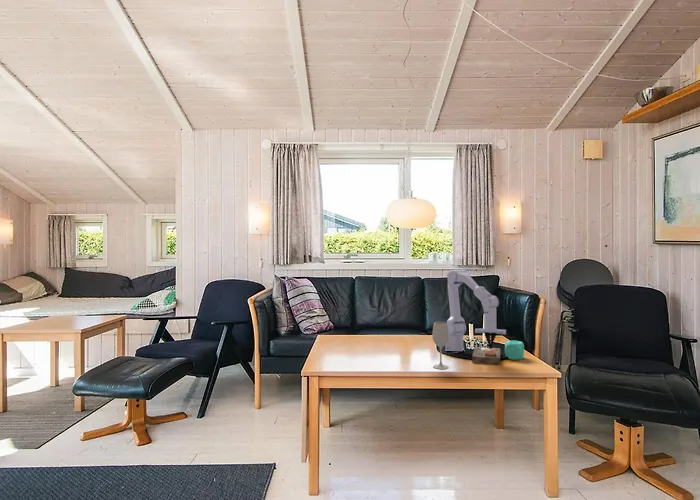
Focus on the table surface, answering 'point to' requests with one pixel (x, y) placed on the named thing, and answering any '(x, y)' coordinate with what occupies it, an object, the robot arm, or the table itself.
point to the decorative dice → (514, 350)
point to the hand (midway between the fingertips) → (490, 348)
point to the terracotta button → (490, 352)
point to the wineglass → (440, 339)
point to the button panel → (481, 357)
